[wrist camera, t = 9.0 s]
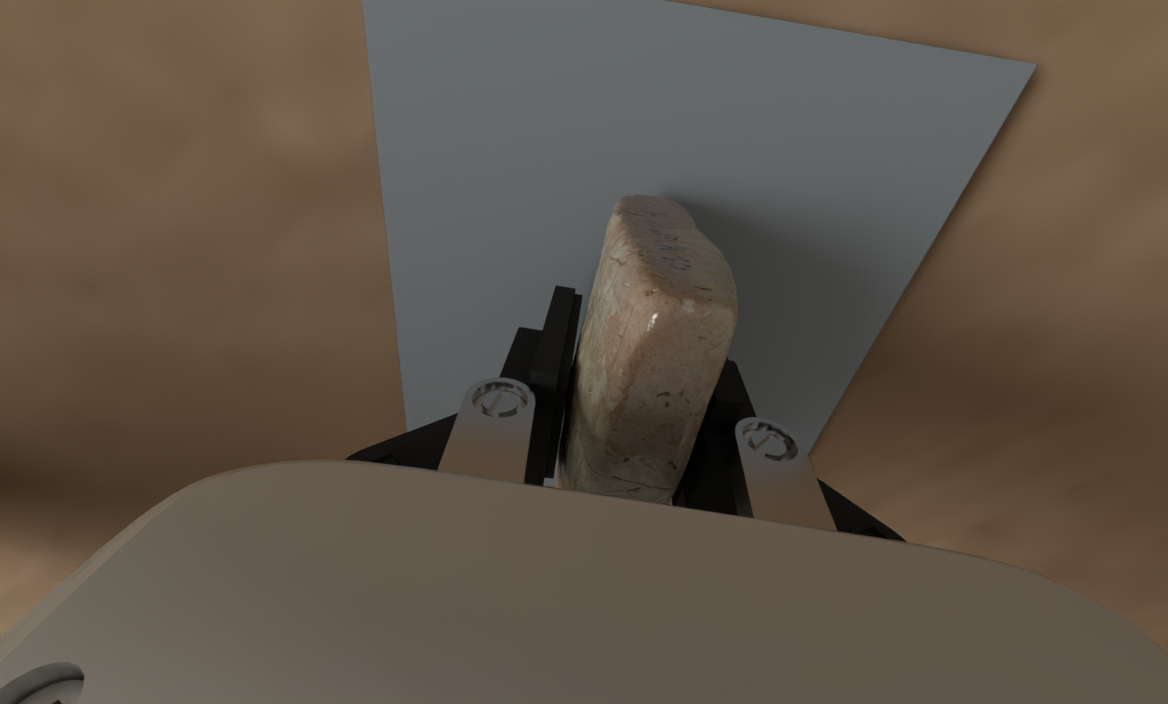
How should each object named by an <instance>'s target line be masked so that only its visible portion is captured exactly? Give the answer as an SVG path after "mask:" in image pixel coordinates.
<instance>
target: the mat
mask: <svg viewBox="0 0 1168 704" xmlns="http://www.w3.org/2000/svg"><path fill="white" fill-rule="evenodd" d="M362 8H363V17H364V27H365V36H366V46H367V56H368V65H369V75H370V84H371V94H372V104H373V113H374V123H375V132H376V142H377V151H378V161H379V171H380V180H381V190H382V199H383V209H384V219H385V228H386V238H387V247H388V257H389V267H390V276H391V286H392V295H393V305H394V314H395V324H396V334H397V343H398V353H399V362H400V372H401V382H402V391H403V401H404V410H405V420H406V429H407V432H409V431H412V430H414V429H417V428H420V427H422V426H425V425H427V424H430V423H433V422H435V421H438V420H440V419H443V418H446V417H448V416H451V415H453V414H456V413H458V412H459V410H460V407H461V404H462V401H463V399H464V396H465V394H466V392H467V391H468V389H469V388H470V387H471V386H473V385H474V384H475V383H477V382H479V381H482V380H484V379H489V378H499V376H500V374H501V371H502V368H503V366H504V363H505V361H506V358H507V356H508V353H509V350H510V348H511V345H512V343H513V340H514V338H515V335H516V333H517V330H518V328H519V327H524V328H530V329H536V330H543V327H544V323H545V320H546V316H547V313H548V310H549V306H550V303H551V300H552V296H553V293H554V290H555V286H556V285H557V286H563V287H569V288H576V291H575V294H579V295H583V297H582V303H581V310H580V316H579V323H578V329H577V335H576V342H575V348H574V355H573V359H574V356H575V353H576V348H577V344H578V340H579V336H580V333H581V329H582V325H583V322H584V318H585V314H586V310H587V305H588V300H589V297H590V294H591V290H592V287H593V284H594V280H595V276H596V272H597V268H598V263H599V260H600V256H601V251H602V246H603V242H604V238H605V235H606V228H607V224H608V220H609V217H610V214H611V212H612V209H613V207H614V206H615V204H616V203H617V201H618V200H619V199H621V198H622V197H624V196H627V195H629V196H634V195H635V194H640V195H650V196H657V197H667V198H670V199H672V200H674V201H675V202H677V203H678V204H680V205H681V206H682V207H684V208H685V209H686V210H687V211H688V212H689V214H690V215H691V217H692V218H693V220H694V222H695V224H696V227H697V230H700V232H701V233H703V234H704V235H705V236H706V237H707V238H708V239H709V240H710V241H711V242H713V243H714V244H715V245H716V246H717V247H718V248H719V250H720V251H721V252H722V254H723V255H724V257H725V259H726V261H727V263H728V264H729V266H730V269H731V271H732V275H733V278H734V281H735V284H736V290H737V298H738V318H737V324H736V328H735V331H734V335H733V338H732V341H731V344H730V347H729V351H728V354H727V357H728V360H732V361H735V363H736V364H737V367H738V369H739V372H740V374H741V377H742V380H743V382H744V385H745V388H746V390H747V393H748V395H749V398H750V401H751V403H752V406H753V408H754V411H755V414H756V416H757V417H758V418H765V419H768V420H771V421H774V422H776V423H778V424H780V425H783V426H784V427H786V428H787V429H789V430H790V431H791V432H793V433H794V434H795V435H796V436H797V437H798V438H799V439H800V441H801V443H802V444H803V446H804V448H805V450H806V453H807V455H808V453H809V451H810V449H811V448H812V446H813V444H814V443H815V441H816V439H817V438H818V436H819V434H820V433H821V431H822V429H823V427H824V426H825V424H826V422H827V421H828V419H829V417H830V416H831V414H832V412H833V410H834V409H835V407H836V405H837V404H838V402H839V400H840V399H841V397H842V395H843V394H844V392H845V390H846V388H847V387H848V385H849V383H850V382H851V380H852V378H853V377H854V375H855V373H856V371H857V370H858V368H859V366H860V365H861V363H862V361H863V360H864V358H865V356H866V355H867V353H868V351H869V349H870V348H871V346H872V344H873V343H874V341H875V339H876V338H877V336H878V334H879V333H880V331H881V329H882V327H883V326H884V324H885V322H886V321H887V319H888V317H889V316H890V314H891V312H892V310H893V309H894V307H895V305H896V304H897V302H898V300H899V299H900V297H901V295H902V294H903V292H904V290H905V288H906V287H907V285H908V283H909V282H910V280H911V278H912V277H913V275H914V273H915V271H916V270H917V268H918V266H919V265H920V263H921V261H922V260H923V258H924V256H925V255H926V253H927V251H928V249H929V248H930V246H931V244H932V243H933V241H934V239H935V238H936V236H937V234H938V233H939V231H940V229H941V227H942V226H943V224H944V222H945V221H946V219H947V217H948V216H949V214H950V212H951V210H952V209H953V207H954V205H955V204H956V202H957V200H958V199H959V197H960V195H961V194H962V192H963V190H964V188H965V187H966V185H967V183H968V182H969V180H970V178H971V177H972V175H973V173H974V171H975V170H976V168H977V166H978V165H979V163H980V161H981V160H982V158H983V156H984V155H985V153H986V151H987V149H988V148H989V146H990V144H991V143H992V141H993V139H994V138H995V136H996V134H997V132H998V131H999V129H1000V127H1001V126H1002V124H1003V122H1004V121H1005V119H1006V117H1007V116H1008V114H1009V112H1010V110H1011V109H1012V107H1013V105H1014V104H1015V102H1016V100H1017V99H1018V97H1019V95H1020V94H1021V92H1022V90H1023V88H1024V87H1025V85H1026V83H1027V82H1028V80H1029V78H1030V77H1031V75H1032V73H1033V71H1034V70H1035V68H1036V66H1037V65H1038V64H1032V63H1026V62H1020V61H1015V60H1009V59H1003V58H997V57H991V56H986V55H980V54H974V53H968V52H962V51H957V50H951V49H945V48H939V47H933V46H928V45H922V44H916V43H910V42H904V41H899V40H893V39H887V38H881V37H875V36H870V35H864V34H858V33H852V32H846V31H840V30H835V29H829V28H823V27H817V26H811V25H806V24H800V23H794V22H788V21H782V20H777V19H771V18H765V17H759V16H753V15H748V14H742V13H736V12H730V11H724V10H719V9H713V8H707V7H701V6H695V5H690V4H684V3H678V2H672V1H666V0H362ZM572 364H573V361H572ZM564 412H565V411H564ZM563 419H564V417H563ZM562 427H563V423H562ZM561 431H562V430H561ZM556 462H557V460H556ZM555 467H556V466H555ZM543 485H547V486H553V487H555V472H554V478H553V479H551V478H545V479H544V484H543ZM669 505H672V499H671V501H670V503H669Z"/></svg>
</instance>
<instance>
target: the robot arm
mask: <svg viewBox="0 0 1168 704" xmlns="http://www.w3.org/2000/svg"><path fill="white" fill-rule="evenodd" d="M575 291H576V288H569V287H563V286H557V285H556V286H555V290H554V293H553V296H552V300H551V303H550V306H549V310H548V313H547V316H546V320H545V323H544V327H543V330H536V329H530V328H524V327H519V328H518V330H517V333H516V335H515V338H514V340H513V343H512V345H511V348H510V350H509V353H508V356H507V358H506V361H505V363H504V366H503V368H502V371H501V374H500V376H499V378H489V379H484V380H482V381H479V382H477V383H475V384H474V385H473V386H471V387H470V388H469V389H468V391H467V392H466V394H465V396H464V399H463V401H462V404H461V407H460V410H459V412H458V413H456V414H453V415H451V416H448V417H446V418H443V419H440V420H438V421H435V422H433V423H430V424H427V425H425V426H422V427H420V428H417V429H414V430H412V431H409V432H407V433H404V434H402V435H399V436H396V437H394V438H391V439H389V440H386V441H383V442H381V443H378V444H376V445H373V446H370V447H368V448H365V449H363V450H360V451H358V452H356V453H354V454H353V455H351V456H349V457H348V458H347V459H345V460H331V459H315V460H290V461H281V462H274V463H267V464H260V465H252V466H247V467H243V468H238V469H234V470H229V471H226V472H222V473H219V474H215V475H212V476H209V477H206V478H204V479H202V480H199V481H197V482H194V483H192V484H190V485H188V486H186V487H184V488H183V489H181V490H179V491H177V492H176V493H174V494H172V495H171V496H169V497H168V498H166V499H165V500H163V501H161V502H160V503H158V504H157V505H155V506H154V507H152V508H151V509H150V510H148V511H147V512H146V513H144V514H143V515H141V516H140V517H139V518H137V519H136V520H135V521H134V522H132V523H131V524H130V525H129V526H127V527H126V528H125V529H124V530H122V531H121V532H120V533H119V534H117V535H116V536H115V537H114V538H112V539H111V540H110V541H109V542H107V543H106V544H105V545H104V546H102V547H101V548H100V549H99V550H98V551H97V552H95V553H94V554H93V555H92V556H91V557H90V558H89V559H87V560H86V561H85V562H84V563H83V564H82V565H80V566H79V567H78V568H77V569H76V570H75V571H73V572H72V573H71V574H70V575H69V576H68V577H66V578H65V579H64V580H63V581H62V582H61V583H60V584H59V585H58V586H57V587H56V588H54V589H53V590H52V591H51V592H50V593H49V594H48V595H47V596H46V597H45V598H43V599H42V600H41V601H40V602H39V603H38V604H37V605H36V606H35V607H34V608H33V609H31V610H30V611H29V612H28V613H27V614H26V615H25V616H24V617H23V618H22V619H21V620H19V621H18V622H17V623H16V624H15V625H14V626H13V627H12V628H11V629H10V630H8V631H7V632H6V633H5V634H4V635H3V636H2V637H1V638H0V704H1168V654H1167V653H1166V652H1165V651H1164V650H1163V649H1162V648H1161V647H1160V646H1159V645H1158V644H1157V643H1156V642H1155V641H1153V640H1152V639H1151V638H1150V637H1149V636H1148V635H1147V634H1145V633H1144V632H1143V631H1142V630H1141V629H1140V628H1138V627H1137V626H1136V625H1134V624H1133V623H1132V622H1131V621H1129V620H1128V619H1126V618H1125V617H1123V616H1122V615H1120V614H1119V613H1117V612H1115V611H1113V610H1112V609H1110V608H1108V607H1106V606H1105V605H1103V604H1101V603H1099V602H1098V601H1096V600H1094V599H1092V598H1090V597H1088V596H1086V595H1084V594H1082V593H1080V592H1078V591H1076V590H1074V589H1071V588H1069V587H1067V586H1065V585H1062V584H1060V583H1058V582H1055V581H1053V580H1051V579H1049V578H1046V577H1044V576H1042V575H1039V574H1036V573H1033V572H1030V571H1027V570H1024V569H1021V568H1018V567H1015V566H1012V565H1009V564H1006V563H1003V562H999V561H995V560H991V559H987V558H983V557H980V556H976V555H972V554H967V553H962V552H957V551H951V550H946V549H941V548H936V547H930V546H925V545H920V544H914V543H909V542H906V540H904V539H903V538H902V537H901V536H899V535H898V534H897V533H896V532H894V531H893V530H892V529H890V528H889V527H887V526H886V525H884V524H883V523H881V522H880V521H879V520H877V519H876V518H874V517H873V516H871V515H870V514H868V513H867V512H865V511H864V510H863V509H861V508H860V507H858V506H857V505H855V504H854V503H852V502H851V501H850V500H848V499H847V498H845V497H844V496H842V495H841V494H839V493H838V492H837V491H835V490H834V489H832V488H831V487H829V486H828V485H826V484H825V483H823V482H822V481H821V480H819V479H818V478H816V475H815V473H814V470H813V468H812V465H811V463H810V460H809V458H808V455H807V453H806V450H805V448H804V446H803V444H802V443H801V441H800V439H799V438H798V437H797V436H796V435H795V434H794V433H793V432H791V431H790V430H789V429H787V428H786V427H784V426H783V425H780V424H778V423H776V422H774V421H771V420H768V419H765V418H758V417H757V416H756V414H755V411H754V408H753V406H752V403H751V401H750V398H749V395H748V393H747V390H746V388H745V385H744V382H743V380H742V377H741V374H740V372H739V369H738V367H737V364H736V363H735V361H732V360H728V357H727V358H726V361H725V363H724V366H723V368H722V371H721V374H720V376H719V379H718V381H717V384H716V386H715V389H714V391H713V394H712V396H711V399H710V401H709V404H708V406H707V409H706V412H705V416H704V418H703V421H702V424H701V426H700V429H699V432H698V433H697V437H696V440H695V443H694V446H693V449H692V452H691V456H690V459H689V461H688V464H687V466H686V468H685V471H684V474H683V476H682V478H681V481H680V482H679V485H678V486H677V488H676V491H675V493H674V495H673V497H672V505H666V504H659V503H653V502H646V501H639V500H633V499H626V498H620V497H613V496H606V495H600V494H593V493H587V492H580V491H573V490H566V489H560V488H553V487H546V486H543V484H544V479H545V478H551V479H553V478H554V472H555V466H556V460H557V454H558V448H559V442H560V436H561V430H562V423H563V417H564V411H565V404H566V398H567V390H568V384H569V377H570V371H571V367H572V361H573V355H574V348H575V342H576V335H577V329H578V323H579V316H580V310H581V303H582V297H583V295H579V294H575Z"/></svg>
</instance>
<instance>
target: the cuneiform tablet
mask: <svg viewBox="0 0 1168 704" xmlns="http://www.w3.org/2000/svg"><path fill="white" fill-rule="evenodd" d="M737 318H738V298H737V290H736V284H735V281H734V278H733V275H732V271H731V269H730V266H729V264H728V263H727V261H726V259H725V257H724V255H723V254H722V252H721V251H720V250H719V248H718V247H717V246H716V245H715V244H714V243H713V242H711V241H710V240H709V239H708V238H707V237H706V236H705V235H704V234H703V233H701V232H700V230H697V227H696V224H695V222H694V220H693V218H692V217H691V215H690V214H689V212H688V211H687V210H686V209H685V208H684V207H682V206H681V205H680V204H678V203H677V202H675V201H674V200H672V199H670V198H667V197H657V196H650V195H640V194H635V195H634V196H629V195H627V196H624V197H622V198H621V199H619V200H618V201H617V203H616V204H615V206H614V207H613V209H612V212H611V214H610V217H609V220H608V224H607V228H606V235H605V238H604V242H603V246H602V251H601V256H600V260H599V263H598V268H597V272H596V276H595V280H594V284H593V287H592V290H591V294H590V297H589V300H588V305H587V310H586V314H585V318H584V322H583V325H582V329H581V333H580V336H579V340H578V344H577V348H576V353H575V356H574V359H573V364H572V367H571V371H570V377H569V384H568V390H567V398H566V404H565V412H564V419H563V427H562V431H561V436H560V442H559V448H558V454H557V462H556V467H555V488H560V489H566V490H573V491H580V492H587V493H593V494H600V495H606V496H613V497H620V498H626V499H633V500H639V501H646V502H653V503H659V504H666V505H669V503H670V501H671V499H672V497H673V495H674V493H675V491H676V488H677V486H678V485H679V482H680V481H681V478H682V476H683V474H684V471H685V468H686V466H687V464H688V461H689V459H690V456H691V452H692V449H693V446H694V443H695V440H696V437H697V433H698V432H699V429H700V426H701V424H702V421H703V418H704V416H705V412H706V409H707V406H708V404H709V401H710V399H711V396H712V394H713V391H714V389H715V386H716V384H717V381H718V379H719V376H720V374H721V371H722V368H723V366H724V363H725V361H726V358H727V354H728V351H729V347H730V344H731V341H732V338H733V335H734V331H735V328H736V324H737Z"/></svg>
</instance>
